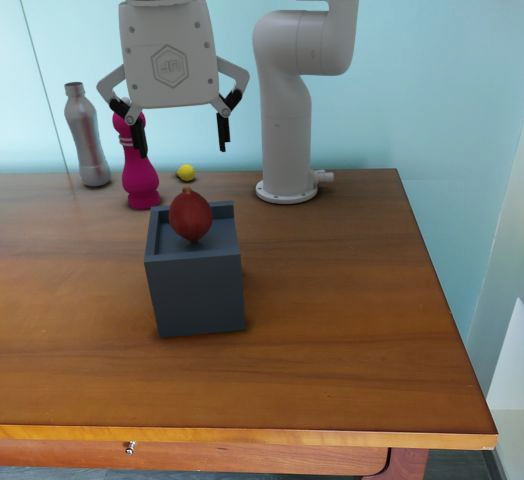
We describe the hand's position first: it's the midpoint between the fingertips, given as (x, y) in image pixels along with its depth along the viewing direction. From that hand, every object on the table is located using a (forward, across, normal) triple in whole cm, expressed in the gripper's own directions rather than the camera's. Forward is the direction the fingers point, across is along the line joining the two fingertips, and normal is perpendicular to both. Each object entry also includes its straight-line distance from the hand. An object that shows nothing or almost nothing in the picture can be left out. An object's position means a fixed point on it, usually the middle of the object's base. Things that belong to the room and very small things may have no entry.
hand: (183, 151), depth 65 cm
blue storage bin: (+22, 0, -1) cm, 22 cm away
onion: (+12, 0, -1) cm, 12 cm away
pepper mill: (+23, -11, +36) cm, 44 cm away
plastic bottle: (+23, -22, +48) cm, 58 cm away
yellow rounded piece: (+23, -3, +47) cm, 53 cm away
